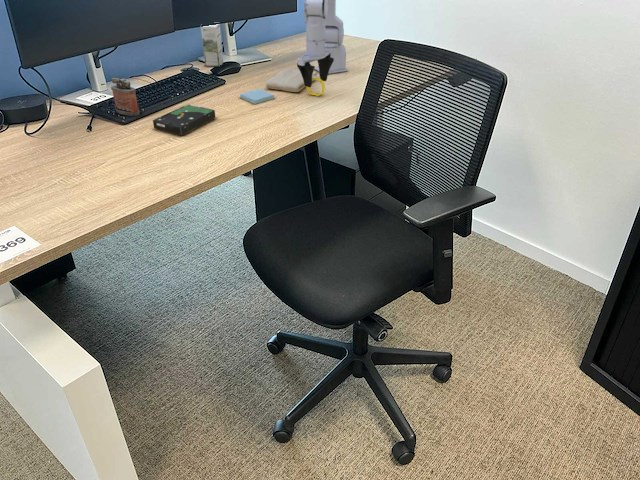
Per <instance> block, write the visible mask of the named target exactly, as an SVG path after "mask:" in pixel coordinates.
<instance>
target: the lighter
mask: <svg viewBox="0 0 640 480" xmlns="http://www.w3.org/2000/svg"><path fill="white" fill-rule="evenodd" d="M111 83H112V85H111V86H110V89H111V92H112V96H113V100H114V105H115V113H117V114H120V115H124V116H129V117H130V116H133V117H136V116H140V114H141V112H140V109H139V105H138V104H139V103H138V100H137V95H136V92H137V90H136V88H135V87H133V86H131V81H130V80H127V79H126V78H124V77H123V78H122V79H121V78H117V77H112V78H111ZM113 84H114V85H113ZM116 107H117V108H119V109H122V110H126V111H130V112H126V111H121V110H118V109H116Z"/></svg>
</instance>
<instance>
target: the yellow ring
mask: <svg viewBox="0 0 640 480" xmlns="http://www.w3.org/2000/svg"><path fill="white" fill-rule="evenodd" d="M312 80H314V81H318V82H319V83H320V85H321V92H320V93H316V92H312V91H311V89H310V87H306V86H305V88H306V91H307V93H308V95H311V96H315V97H319V96H321V95H322V94H323V93H324V92H325V89H326V86H325V81H322V80H321V79H320V75H316V76H312Z"/></svg>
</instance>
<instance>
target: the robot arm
mask: <svg viewBox="0 0 640 480" xmlns="http://www.w3.org/2000/svg"><path fill="white" fill-rule="evenodd" d="M336 4H337V0H304V1H303V13H304V14H303V15H304V23H305V24H306V25H305V31H306V32H305V33H306V34H305V35H306V37H305V39H306V41H305V42H306V45H305V46H306V51H304V54H303V55H301V57H297V63H296V67H297V69H299V70H300V72H301V74H302V77H303V81H304V85H305V88H306V87H309V88H311V87H312V84H313V82H312V74H313V71H314V70H316V72H317V71H318V73H319V75H318V76H320V79H321V80H322V81H323V82H327V80H328V76H329V74H337V73H342V72H343V73H344V72H347V69H346V68H347V49H346V47H345V45H344V44H343V43H344V38H345V37H344V36H345V30H344V22H343V20H342V19H341V18H340V17H338V15H336V12H337V11H336V10H337V7H336V6H337V5H336ZM316 61H317V64H318V66H315V65H312V64H311V63H313V62H316Z"/></svg>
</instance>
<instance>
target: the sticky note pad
mask: <svg viewBox="0 0 640 480" xmlns="http://www.w3.org/2000/svg"><path fill="white" fill-rule="evenodd" d="M239 96H240V99H242V100H245V101H247V102H249V103H251V104H252V105H253V104H254V105H256V104H260V103H264V102H267V101H270V100H274V99H275V94H272V93H270V92H267V91H266V90H263V89H260V88H258V89H254V90H249V91H247V92H242V93H240V94H239Z"/></svg>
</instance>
